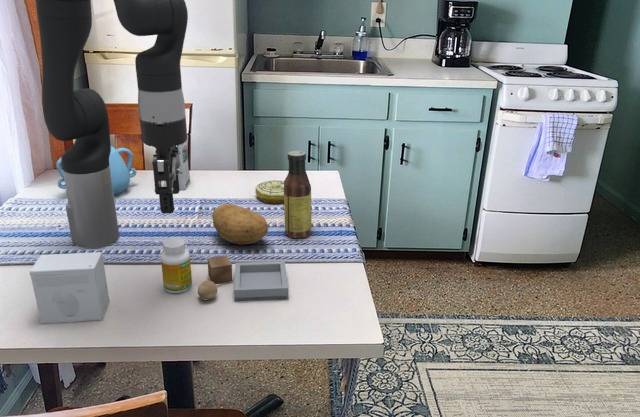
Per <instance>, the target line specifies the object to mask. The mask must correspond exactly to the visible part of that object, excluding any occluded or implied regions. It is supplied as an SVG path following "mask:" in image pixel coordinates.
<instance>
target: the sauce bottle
mask: <svg viewBox="0 0 640 417" xmlns="http://www.w3.org/2000/svg"><path fill="white" fill-rule="evenodd" d="M306 160H307V153H306V152H305V151H303V150H290V151H288V152H287V161H288V172H287V175H286V177H285V178H284V180H283V181H284V203H283V208H284V213H283V214H284V216H283V217H284V229H285V230H284V232H285V234H286V236H288V237H289V238H292V239H298V240H299V239H304V238H307V237H309V236H310V235H311V233H312V186H311V183H310V180H309V177H308V174H307V171H306Z"/></svg>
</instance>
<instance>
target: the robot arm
mask: <svg viewBox="0 0 640 417" xmlns="http://www.w3.org/2000/svg"><path fill="white" fill-rule="evenodd" d="M113 3H114V6H115V12H116V16H117V19H118V21H119V23H120V25H121V26H122V28H124V29H125V30H126V31H127V32H128V33H129V34H131V35H133V36H136V37H147V36H156V39H155V42H154V44H153V45H152V46H151V47H149V48H147V49H145V50H142V51H139V53H137V54H136V56H135V60H134V61H135V64H134V65H135V74H136V83H137V91H138V92H137V105H138V116H139V124H140V133H141V142H142V143H143V145H146V146H148V147H153V148H155V152H154V154H153V156H152V161H151V165H152V169H153V170H152V171H153V182H154V193H155V195H158V200H159V208H160V212H161V214H172V213H174V212H175V202H174V195H177V194H179V193H180V191H181V190H180V189H179V177H178V174H179V172H180V170H179V167H180V159H179V150H178V145H181V144H183V143H184V142H187V139H188V129H187V128H188V127H187V116H186V104H185V98H184V92H183V84H182V74H181V73H182V72H181V59H182V53H183V48H184V43H185V38H186V33H187V32H186V31H187V28H188V22H189V21H188V20H189V18H188V17H189V15H188V14H189V13H188V7H187V5H186V1H185V0H113ZM35 6H36V16H37V23H38V29H39V38H40V39H39V40H40V51H41V52H40V53H41V63H42V65H41V66H42V68H41V69H42V73H41V74H42V80H41V81H42V82H41V83H42V87H41V88H42V112H43V119H44V123H45V126H46V129H47V130H48V132H49V134H50V135H51V136H52V137H53V138H54V139H55V140H57V141H60V142H70V141H74V140H75V141H74V143H73V144H72V145H71V147H70V148H68V149H67V150H66V151H64V153H63V154H62V155H61V157H62V158H61V157H60V158H61V162H62V163H61V169H62V171H63V174H64V180H65V181H64V185H66V189H65V190H66V196H67V200H68V201H67V204H66V205H65V211H66V215H67V216H66V217H67V221H68V227H69V233H70V239H71V244H72V246H77V245H78V247H80V248H84V249H85V248H86V249H98V248H103V247H107V246H110V245H112V244H114V243H115V242H117V241H118V240H119V238H120V232H119V230H120V228H119V223H118V217H117V211H116V210H117V209H116V202H115V195H114V193H113V186H112V179H111V172H110V164H109V156H110V153H111V146H112V144H111V134H110V133H111V130H110V119H109V112H108V108H107V105H106V103H105V101H104V99H103V97H102V96H101V95H100V94H99V93H98V92H97V91H96V90H95V89H91V88H80V89H75V87H74V86H75V85H74V84H75V72H76V68H77V64H78V62H79V59H80V57H81V55H82V53H83V51H84V48H85V46H86V44H87V42H88V39H89V37H90V34H91V31H92V27H93V26H92V25H93V17H92V15H93V14H92V1H91V0H35ZM74 89H75V90H74ZM164 181H166V185H167V187H165V186H162V182H164Z"/></svg>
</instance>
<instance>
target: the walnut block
mask: <svg viewBox="0 0 640 417" xmlns="http://www.w3.org/2000/svg"><path fill="white" fill-rule="evenodd" d="M207 273H208V274H207V275H208V277H209V281H212V282H214V283H215V284H216V285H220V284H227V283H231V282H233V264H232V262H231V260H230V258H229V255H228V254H225V255H224V254H223V255H219V256H213V257H207Z"/></svg>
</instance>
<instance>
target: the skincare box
mask: <svg viewBox="0 0 640 417" xmlns="http://www.w3.org/2000/svg"><path fill="white" fill-rule="evenodd" d="M106 275H107V274H106V269H105V263H104V256H103V251H102V252H101V251H96V252H76V253H57V254H56V253H55V254H41V255H39V257H38V258H37V260H35V263H34V264H33V265H32V267H31V268H30V270H29V276H30V279H31V283H32V288H33V292H34V297H35V301H36V306H37V310H38V315H39V322H40V325H41V324H42V325H44V324H45V325H46V324H58V323H72V322H75V323H76V322H87V321H88V322H89V321H103V319H104V317H105V315H106V312H107V310H108V306H109V303H110V301H111V300H110V295H109V294H110V293H109V288H108V281H107V276H106Z"/></svg>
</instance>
